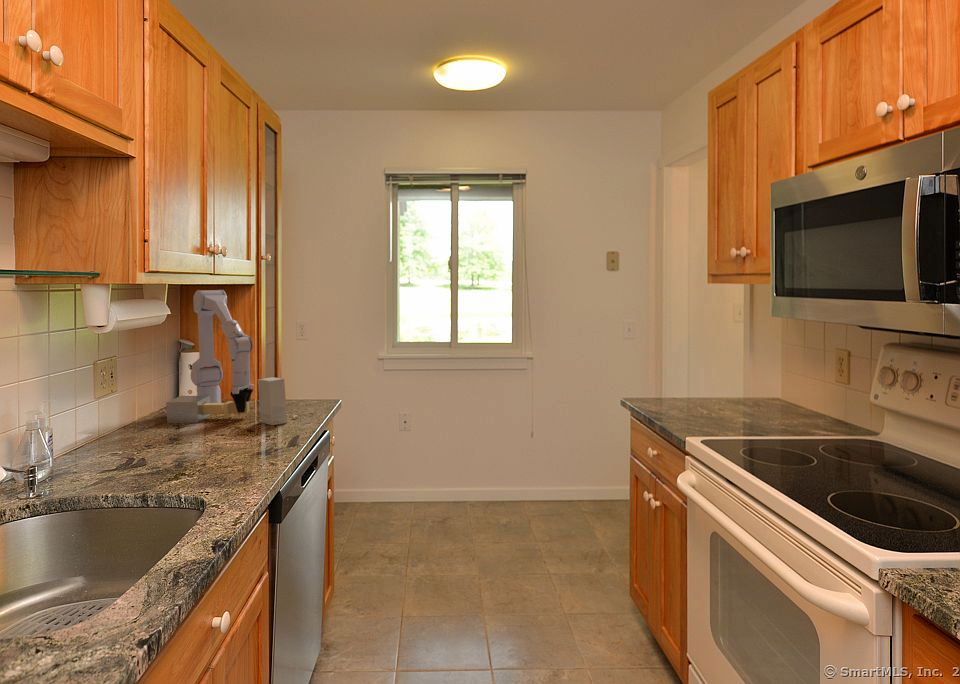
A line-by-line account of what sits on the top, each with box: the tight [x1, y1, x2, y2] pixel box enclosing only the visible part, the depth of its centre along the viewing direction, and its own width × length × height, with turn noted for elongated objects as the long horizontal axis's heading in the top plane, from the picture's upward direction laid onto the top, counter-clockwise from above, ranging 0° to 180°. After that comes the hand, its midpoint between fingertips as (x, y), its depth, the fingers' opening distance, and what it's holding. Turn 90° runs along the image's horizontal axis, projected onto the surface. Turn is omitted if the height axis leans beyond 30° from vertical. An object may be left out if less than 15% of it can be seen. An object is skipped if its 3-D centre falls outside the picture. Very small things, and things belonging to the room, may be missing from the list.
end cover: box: [202, 400, 251, 420], centre depth 224 cm, size 6×15×5 cm, turn 93°
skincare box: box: [257, 377, 288, 426], centre depth 217 cm, size 8×6×15 cm
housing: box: [166, 395, 212, 424], centre depth 223 cm, size 12×10×7 cm
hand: (242, 411), depth 224 cm, fingers closed on end cover, 3 cm apart
